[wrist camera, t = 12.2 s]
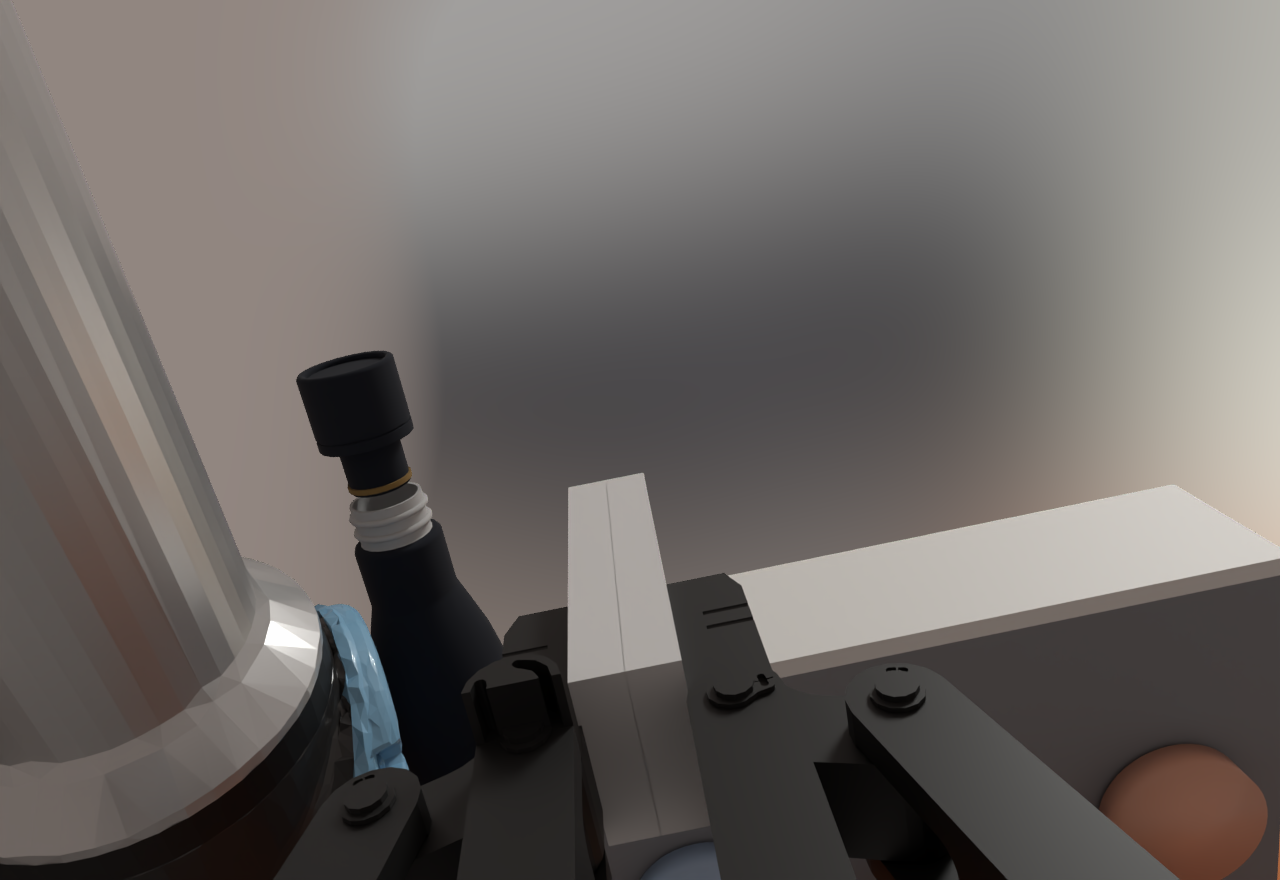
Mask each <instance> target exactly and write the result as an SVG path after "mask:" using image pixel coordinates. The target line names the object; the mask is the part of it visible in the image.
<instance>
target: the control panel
mask: <svg viewBox="0 0 1280 880" xmlns="http://www.w3.org/2000/svg"><path fill="white" fill-rule="evenodd" d="M729 577H730V578H732V579H733V580H734V581H736V582H737V583H739V584H740V585H741V586H742V588H743V591H744V594H745V596H746V599H747V602H748V606H749V607H750V610H751V613H752V616H753V620H754V621H755V624H756V627H757V629H758V632H759V635H760V638H761V640H762V643H763V646H764V649H765V651H766V654H767V657H768V660H769V662H770V665H771V668H772V670H773V671H774V672H776V673H777V674H778V676H779V677H780V678H781V680H782V681H783V682H784V684H785V685H786V686H788V687H790V688H792V689H795V690H797V691H800V692H804V693H808V694H813V695H823V696H845V694H846V687H847V685H848V684H849V683H850V682H851V680H852V679H853V678H854V677H855V676H856V675H857V674H859V673H861V672H863V671H865V670H867V669H868V668H870V667H875V666H879V665H884V664H888V663H909V664H913V665H917V666H921V667H925V668H929V669H930V670H932V671H934V672H935V673H937V674H939V675H941V676H942V677H944V678H945V679H946V680H947V681H948V682H950V683H951V684H952V685H953V686H954V687H955V688H957V689H958V690H959V691H960V692H961V693H962V694H964V695H965V696H966V697H967V698H968V699H969V700H971V701H972V702H973V703H974V704H975V705H976V706H978V707H979V708H980V709H981V710H982V711H983V712H985V713H986V714H987V715H988V716H989V717H991V718H992V719H993V720H994V721H995V722H996V723H998V724H999V725H1000V726H1001V727H1002V728H1003V729H1005V730H1006V731H1007V732H1008V733H1009V734H1010V735H1012V736H1013V737H1014V738H1015V739H1016V740H1017V741H1019V742H1020V743H1021V744H1022V745H1023V746H1024V747H1026V748H1027V749H1028V750H1029V751H1030V752H1031V753H1033V754H1034V755H1035V756H1036V757H1037V758H1038V759H1040V760H1041V761H1042V762H1043V763H1044V764H1045V765H1047V766H1048V767H1049V768H1050V769H1051V770H1052V771H1054V772H1055V773H1056V774H1057V775H1058V776H1060V777H1061V778H1062V779H1063V780H1064V781H1065V782H1067V783H1068V784H1069V785H1070V786H1071V787H1072V788H1074V789H1075V790H1076V791H1077V792H1078V793H1079V794H1081V795H1082V796H1083V797H1084V798H1085V799H1086V800H1088V801H1089V802H1090V803H1091V804H1092V805H1093V806H1095V807H1096V808H1097V809H1098V810H1099V806H1100V803H1101V800H1102V797H1103V795H1104V794H1105V792H1106V790H1107V788H1108V787H1109V785H1110V784H1111V782H1112V781H1113V780H1114V779H1115V777H1116V776H1117V775H1118V774H1119V773H1120V772H1121V771H1122V770H1123V769H1124V768H1125V767H1127V766H1128V765H1129V764H1131V763H1132V762H1133V761H1135V760H1137V759H1138V758H1140V757H1141V756H1143V755H1145V754H1147V753H1149V752H1152V751H1154V750H1157V749H1160V748H1163V747H1167V746H1171V745H1178V744H1198V745H1203V746H1208V747H1211V748H1213V749H1216V750H1218V751H1220V752H1221V753H1223V754H1224V755H1226V756H1227V757H1228V758H1229V759H1230V760H1231V761H1232V762H1233V763H1235V764H1236V765H1237V766H1238V767H1239V768H1240V769H1241V770H1242V771H1243V772H1244V773H1245V774H1246V775H1247V776H1248V777H1249V778H1250V779H1251V780H1252V781H1253V782H1254V783H1255V784H1256V785H1257V786H1258V787H1259V788H1260V790H1261V792H1262V793H1263V795H1264V798H1265V800H1266V804H1267V810H1268V818H1267V825H1266V829H1265V832H1264V835H1263V837H1262V839H1261V841H1260V843H1259V845H1258V846H1257V848H1256V849H1255V851H1254V852H1253V853H1252V855H1251V856H1250V857H1249V858H1248V859H1247V860H1246V861H1245V862H1244V863H1243V864H1242V865H1241V866H1240V867H1239V868H1238V869H1236V870H1235V871H1234V872H1232V873H1231V874H1229V875H1228V876H1226V877H1225V878H1223V879H1221V880H1277V872H1278V853H1279V834H1280V547H1279V546H1277V545H1276V544H1274V543H1272V542H1271V541H1269V540H1267V539H1266V538H1264V537H1262V536H1260V535H1259V534H1257V533H1255V532H1254V531H1252V530H1250V529H1249V528H1247V527H1245V526H1244V525H1242V524H1240V523H1239V522H1237V521H1235V520H1234V519H1232V518H1230V517H1228V516H1227V515H1225V514H1223V513H1222V512H1220V511H1218V510H1217V509H1215V508H1213V507H1211V506H1210V505H1208V504H1207V503H1205V502H1203V501H1201V500H1200V499H1198V498H1196V497H1195V496H1193V495H1191V494H1190V493H1188V492H1186V491H1184V490H1183V489H1181V488H1180V487H1178V486H1176V485H1174V484H1172V485H1167V486H1163V487H1158V488H1153V489H1148V490H1143V491H1138V492H1133V493H1128V494H1124V495H1119V496H1114V497H1109V498H1104V499H1099V500H1094V501H1090V502H1084V503H1080V504H1075V505H1070V506H1065V507H1060V508H1055V509H1051V510H1045V511H1041V512H1036V513H1031V514H1026V515H1021V516H1016V517H1011V518H1006V519H1002V520H997V521H992V522H987V523H982V524H977V525H972V526H968V527H963V528H958V529H953V530H948V531H943V532H939V533H934V534H929V535H924V536H919V537H914V538H909V539H905V540H899V541H895V542H890V543H885V544H881V545H875V546H870V547H865V548H860V549H856V550H851V551H846V552H841V553H836V554H831V555H826V556H822V557H817V558H812V559H808V560H802V561H798V562H793V563H787V564H783V565H778V566H773V567H769V568H763V569H758V570H753V571H748V572H744V573H739V574H734V575H729ZM704 842H714V841H713V836H712V831H711V826H707V827H702V828H697V829H692V830H687V831H682V832H677V833H672V834H667V835H663V836H658V837H653V838H648V839H643V840H638V841H633V842H628V843H623V844H618V845H613V846H609V845H608V842H607V838H606V834H605V830H604V846H605V851H606V855H607V859H608V863H609V867H610V871H611V875H612V880H640V879H641V878H642V876H643V875H644V873H645V872H646V871H647V870H648V869H649V868H650V867H651V865H653V864H654V863H655V862H656V861H657V860H659V859H660V858H662V857H663V856H665V855H666V854H668V853H670V852H672V851H674V850H676V849H679V848H682V847H684V846H688V845H692V844H697V843H704ZM849 860H850V863H851V865H852V868H853V871H854V873H855V876H856V879H857V880H877V879H876V878H875V877H874V875H873V874H872V872H871V870H870V868H869V866H868V864H867V861H866V859H859V858H849Z"/></svg>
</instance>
